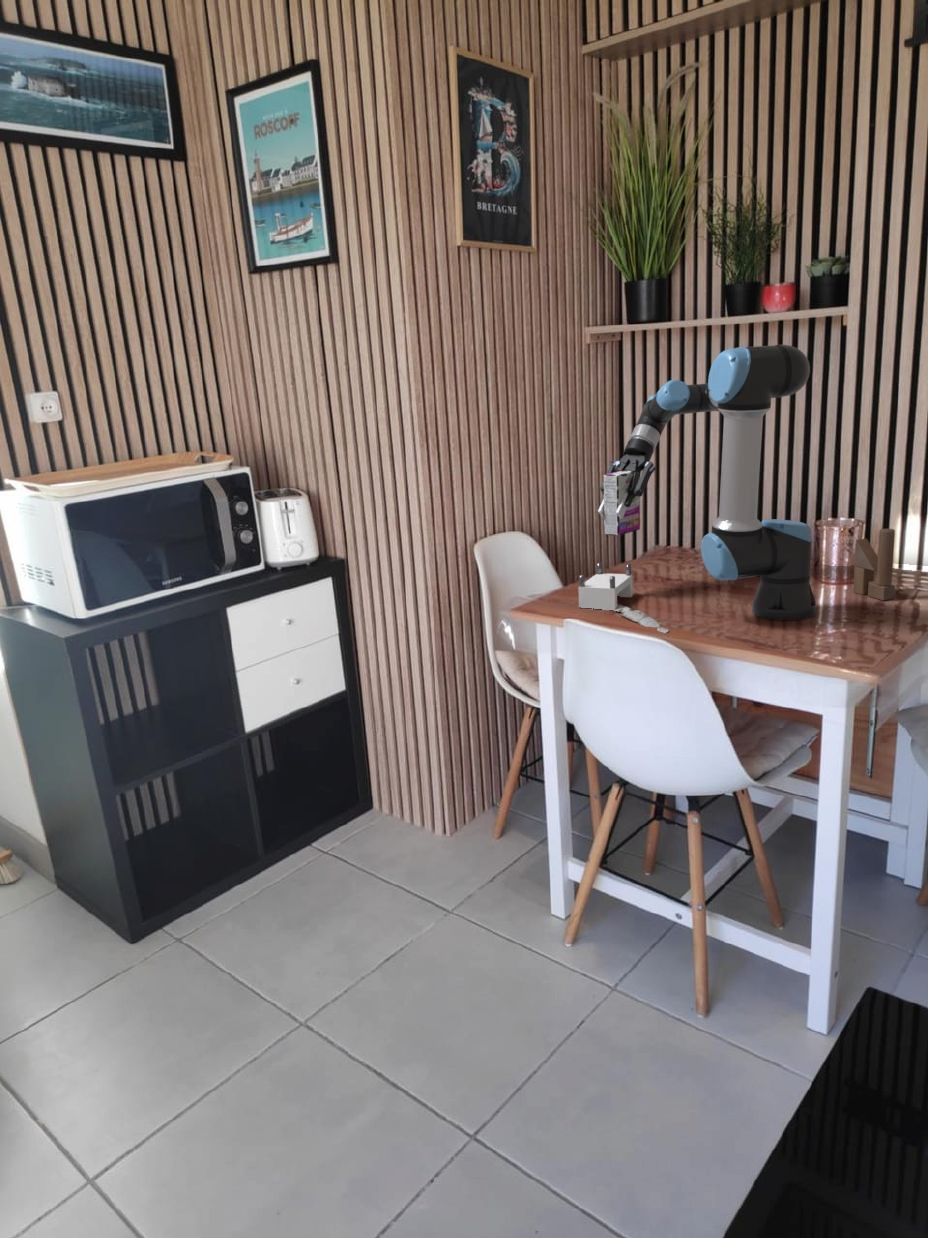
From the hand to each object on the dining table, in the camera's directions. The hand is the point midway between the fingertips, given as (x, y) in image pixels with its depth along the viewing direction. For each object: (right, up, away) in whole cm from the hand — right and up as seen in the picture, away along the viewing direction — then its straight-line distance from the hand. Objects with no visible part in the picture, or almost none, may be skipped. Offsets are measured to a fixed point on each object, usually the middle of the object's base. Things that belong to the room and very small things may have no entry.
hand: (610, 514), depth 242 cm
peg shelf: (0, -23, +5) cm, 24 cm away
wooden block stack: (+68, -22, -6) cm, 71 cm away
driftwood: (+4, -27, -8) cm, 29 cm away
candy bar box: (+4, -4, +6) cm, 8 cm away
